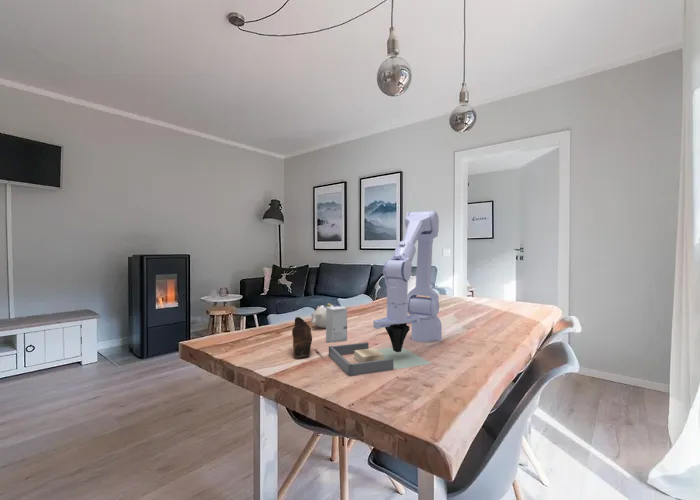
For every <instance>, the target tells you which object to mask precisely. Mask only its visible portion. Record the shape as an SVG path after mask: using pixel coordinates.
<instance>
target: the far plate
mask: <svg viewBox="0 0 700 500" xmlns="http://www.w3.org/2000/svg"><path fill="white" fill-rule="evenodd" d="M376 350H378V351H379V352H381V353H382V354H384V359H391V358H392V359H393V370H398V369H406V368H411V367H419V366H427V365H432V362H430V361H428V360H426V359H425V358H423V357H421V356H419V355H418V354H415V353H414V352H412V351H410V350H408V349H406V348H405V347H403V346H402V350H401V352H395V351H393V347H387V348H379V349H376Z"/></svg>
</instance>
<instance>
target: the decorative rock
mask: <svg viewBox="0 0 700 500" xmlns="http://www.w3.org/2000/svg"><path fill="white" fill-rule="evenodd" d="M293 323H294V324H293V328H292V329H291V330H292V331H291V334H292V335H291V336H292V347H293V350H292V351H293V356H294V357H295V359H298V358H299V359H301V358H305V357H308V356H309V354H310V352H311V346H312V342H313V335H312V329H311V326H310V325H309V324H308V323H307V321H305V320H304V319H303V318H302V317H299V316H296V317H295V318H294V322H293Z"/></svg>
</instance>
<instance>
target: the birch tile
mask: <svg viewBox="0 0 700 500" xmlns="http://www.w3.org/2000/svg"><path fill="white" fill-rule="evenodd" d="M353 354H354V356H353V358H354V359H355V360H356V361H357V362H358V363H362V362H369V361H377V360H384V354H382V353H381V352H379V351H378V350H377V349H376V348H375V347H371V348H370V347H369V348H368V349H362V350H354V353H353Z"/></svg>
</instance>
